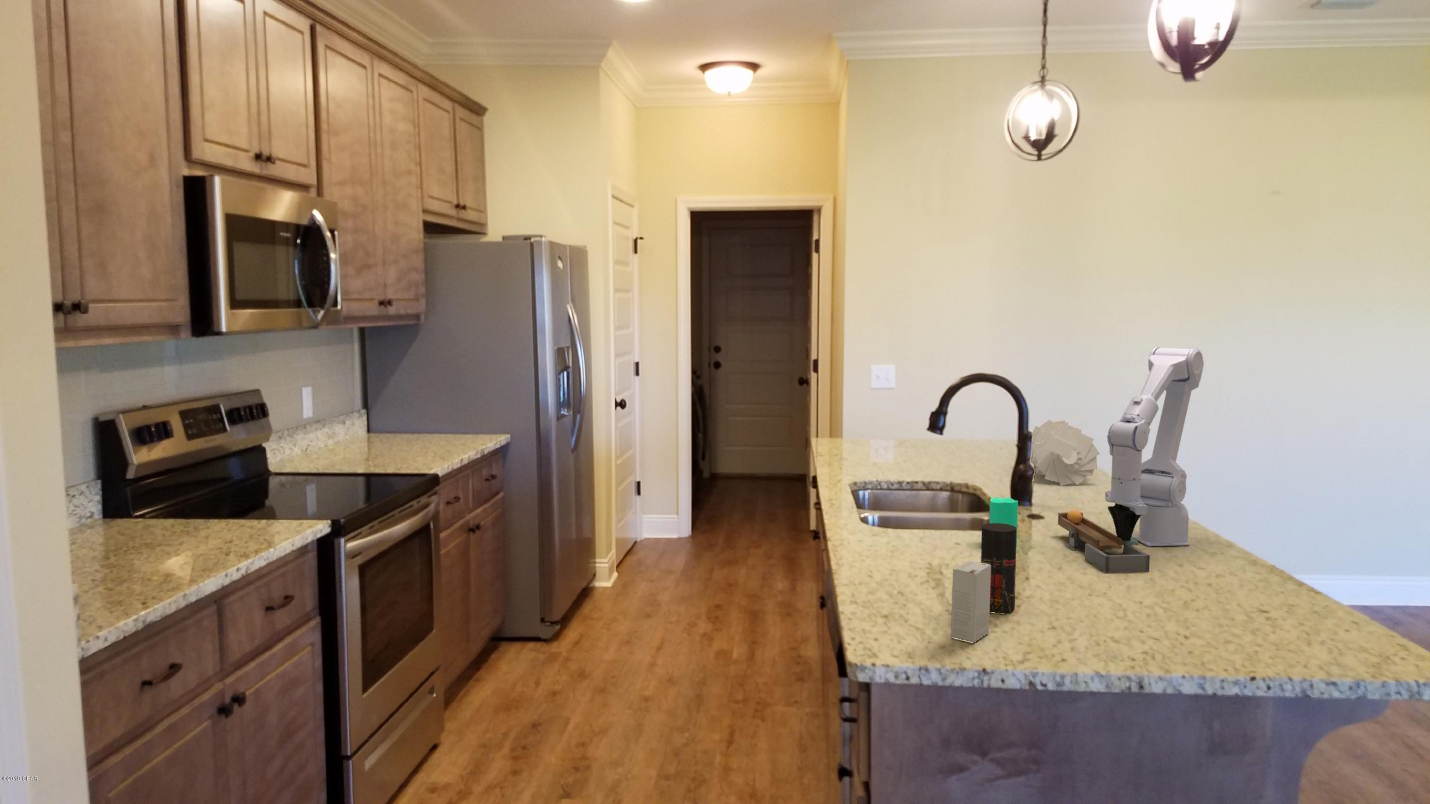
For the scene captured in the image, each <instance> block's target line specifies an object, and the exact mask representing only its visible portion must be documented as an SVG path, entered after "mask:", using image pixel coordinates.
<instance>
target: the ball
mask: <svg viewBox="0 0 1430 804" xmlns="http://www.w3.org/2000/svg"><path fill="white" fill-rule="evenodd" d="M1068 512H1069V513H1068V514H1067V519H1068V521H1070V522H1071V523H1073V524H1077V523H1079V522H1080V521H1081V520H1082V515H1081V513H1080V512H1081V511H1079V510H1077V509H1071V510H1069V511H1068Z"/></svg>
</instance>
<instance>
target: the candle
mask: <svg viewBox="0 0 1430 804" xmlns="http://www.w3.org/2000/svg"><path fill="white" fill-rule="evenodd" d="M1018 507H1019V501H1018V500H1014V499H1013V498H1011V497H1003V498H1002V497H991V498H990V500H989V523H1002V524H1009V525H1013V526H1015V527H1016V528H1017V529H1018V511H1019V508H1018ZM1017 547H1018V535H1017V536H1016V548H1017Z"/></svg>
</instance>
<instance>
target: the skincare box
mask: <svg viewBox="0 0 1430 804" xmlns="http://www.w3.org/2000/svg"><path fill="white" fill-rule="evenodd" d="M990 582H991V565H990V564H985V563H981V562H978V561H973V560H967V561H965V562H964V563H961V564H959V565H958V566H957V567H955V568H953V569H952V583H951V584H952V587H951V592H952V593H951V619H950V620H951V621H950V638H951V637H954V638H958V639H961V640H966V641H970V642H973V643H974V642H975V643H977V642H978V641H980V640H981V639H983V638H984V637H985V636H987V635H988V634H990V633H989V632H990V614H991V613H990ZM986 634H987V635H986ZM983 636H984V637H983ZM980 638H981V639H980ZM979 639H980V640H979ZM977 640H978V641H977ZM976 641H977V642H976ZM975 643H974V644H975Z"/></svg>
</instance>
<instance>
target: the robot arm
mask: <svg viewBox="0 0 1430 804" xmlns="http://www.w3.org/2000/svg"><path fill="white" fill-rule="evenodd" d="M1148 355H1149V356H1148V366H1147V367H1148V371H1149V373H1148V375H1147V378H1146V381H1145V382H1144V385H1143V388H1142V390H1141V392H1140V394H1138V395H1134V396H1133V397H1132V398H1131V399H1130V402H1129V403H1128V405H1127V407H1126V408H1125V411H1124V412H1123V414H1122V416H1121V418H1120V419H1119V420H1118V421H1116V422H1114V423H1112V424H1110V426H1109V428H1108V431H1107V432H1108V433H1107V435H1106V439H1107V443H1108V446H1109V455H1110V456H1112V457H1111V458H1112V459H1111V479H1110V480H1111V481H1110V483H1111V485H1110V487H1111V488H1110V490H1107V491H1104V492H1105V496H1104V501H1106V502H1107V503H1114V505H1110V506H1107V511H1108V512H1109V514H1110V516H1111V518H1112V521H1113V524H1114V530H1115V534H1116V535H1115V536H1117V537H1119V538H1121V539H1122V541H1130V540H1131V538H1133V539H1135V540H1137V541H1138V543H1139V542H1140V543H1142V544H1143V545H1145V546H1147V547H1166V546H1167V547H1168V546H1170V547H1171V546H1173V547H1174V546H1177V547H1178V546H1189V545H1190V542H1189V541H1188V540H1189V520H1190V519H1189V511H1188V508H1187V506H1186V505H1185V504H1183V503H1182V502H1183V500H1184V499H1185V497H1186V493H1187V473H1186V471H1185V470H1184V469H1183V467H1181V466H1180V465H1179V464H1178V463H1177V459H1178V454H1179V449H1180V445H1181V441H1182V435H1183V431H1184V426H1185V422H1186V418H1187V413H1188V409H1189V404H1190V400H1191V399H1190V398H1191V395H1192V391H1194V390H1196V389H1197V388H1199V386H1200V382H1201V379H1202V375H1203V371H1204V370H1203V369H1204V366H1205V365H1204V364H1205V363H1204V356H1203V353H1202V351H1201V350H1200V349H1199V348H1197V347H1196V348H1195V347H1193V348H1178V347H1176V348H1175V347H1160V346H1156V347H1154V348H1153V349H1152V350H1151V351H1150V352H1149V354H1148ZM1164 393H1165V397H1164V402H1163V405H1162V406H1163V407H1162V410H1161V415H1160V419H1159V424H1158V427H1157V432H1156V436H1155V441H1154V446H1153V451H1152V454H1151V457H1149V459H1147V460H1144V461H1143V460H1142V459H1143V450H1144V449H1145V448H1146V446H1147V445H1148V442H1149V436H1150V433H1151V432H1150V431H1151V428H1150V426H1151V425H1152V423H1153V420H1154V418H1155V417H1156V416H1157V413H1158V411H1159V405H1158V403H1157V402H1158V400H1160V398H1161V396H1162V394H1164ZM1142 461H1143V462H1142ZM1138 521H1139V526H1138V527H1139V528H1138V529H1139V530H1138V532H1139V533H1138V534H1133V532H1134V530H1135V527H1136V525H1137V523H1138Z"/></svg>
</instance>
